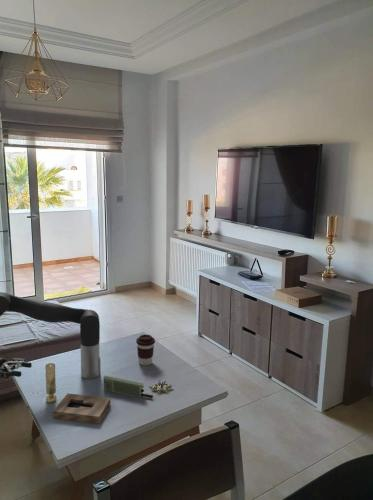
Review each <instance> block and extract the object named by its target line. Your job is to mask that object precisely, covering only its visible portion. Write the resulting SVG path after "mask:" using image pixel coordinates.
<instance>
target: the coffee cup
mask: <svg viewBox="0 0 373 500" xmlns="http://www.w3.org/2000/svg"><path fill="white" fill-rule="evenodd" d="M135 341H136V343H135V344H137V346H136V347H137V348H136V349H137V357H138V358H137V359H138V364H139V365H140V364H141V366H150V365H151V364H152V363H153V356H154V350H155V346H154V345H155V342H156V338H155V337H153V336H152V335H150V334H141V335H140V336H139V337H138V338H136V340H135ZM149 364H150V365H149Z"/></svg>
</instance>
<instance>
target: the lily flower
mask: <svg viewBox="0 0 373 500" xmlns="http://www.w3.org/2000/svg"><path fill="white" fill-rule="evenodd" d="M163 382H164V383H166V381H161V379H160V380H158V382H157V383H158V385H159V386H160V385H161V387H160V390H157V386H158V385H157V384H154V385H155V386H156V387H154V388H151V389H152V390H151V391H152V392H156V393H157V395H158V394H159V392H162V391H164V392H162V393H160V394H159V395H161V394H163V393H166V394H168V393H169V392H170V389H168V387H171V386H167V385H168V384H169V383H166V384H163ZM161 383H162V384H161ZM164 385H166V386H167V388H166V390H164V389H163V388H164V387H163V386H164ZM161 388H162V389H161ZM154 390H155V391H154ZM157 391H159V392H157ZM166 391H167V392H168V393H167V392H166Z"/></svg>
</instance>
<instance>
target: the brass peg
mask: <svg viewBox="0 0 373 500" xmlns="http://www.w3.org/2000/svg"><path fill="white" fill-rule="evenodd" d="M44 367H45V387H46V388H45V389H46V390H45V391H46V395H47V396H46V398H45V401H46V403H47V404H53V403H55V402H57V395H56V392H57V390H56V387H57V386H56V364H55V363H51V362H50V363H47V364H45V366H44Z"/></svg>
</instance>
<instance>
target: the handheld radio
mask: <svg viewBox="0 0 373 500" xmlns="http://www.w3.org/2000/svg"><path fill="white" fill-rule="evenodd" d="M102 379H103V381H102V382H103V390H105V391H109V392H113V393H117V394H123V395H127V396H130V397H131V396H132V397H134V398H142V397H145V398H149V399H153V398H154V395H151V394H148V393H144V392H145V390H144V387H145V386H144V385H145V383H143V382H138V381H133V380H129V379H124V378H120V377H119V378H118V377H113V376H108V375H104V376H103V378H102ZM141 396H142V397H141Z"/></svg>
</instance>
